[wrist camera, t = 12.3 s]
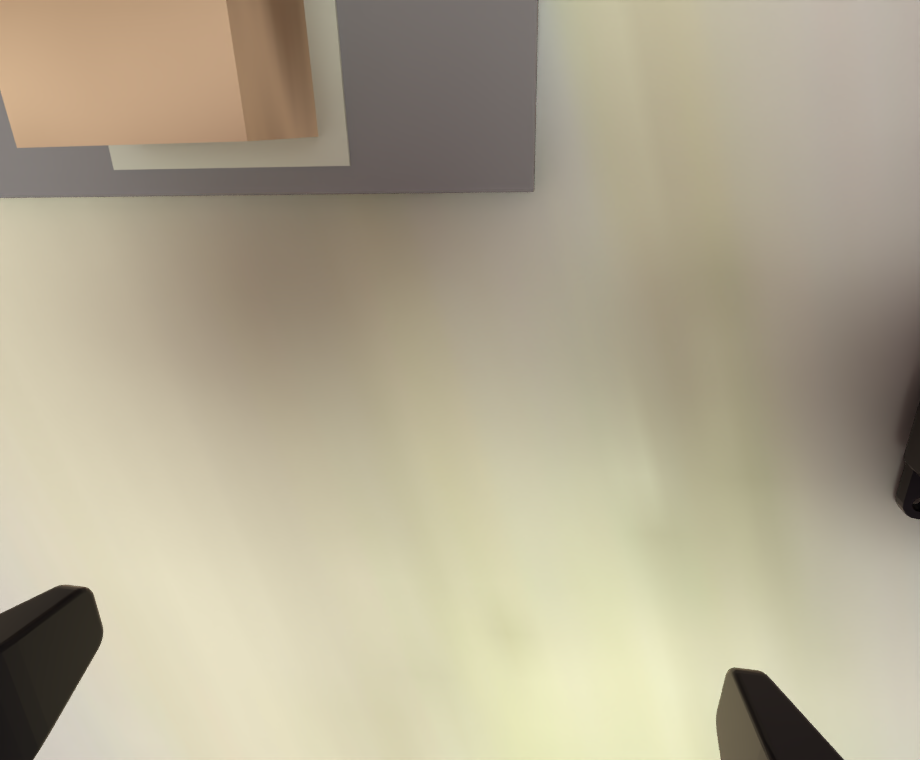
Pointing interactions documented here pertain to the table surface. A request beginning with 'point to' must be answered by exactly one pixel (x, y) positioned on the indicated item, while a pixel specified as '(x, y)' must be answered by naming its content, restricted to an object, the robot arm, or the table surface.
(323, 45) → the mat
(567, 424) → the table surface
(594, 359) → the table surface
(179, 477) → the table surface
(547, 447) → the table surface
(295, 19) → the copper block with band
